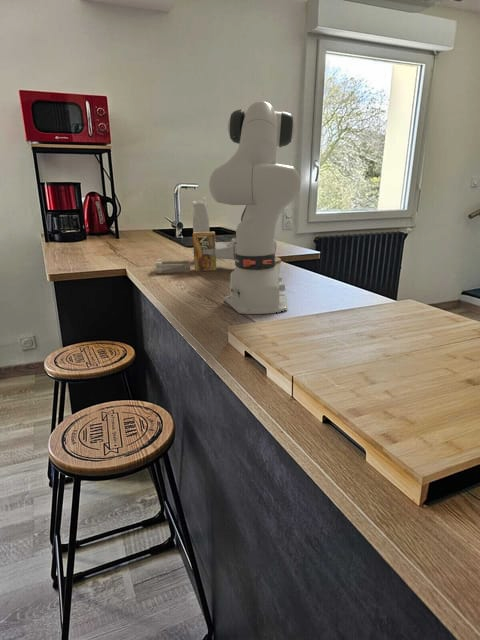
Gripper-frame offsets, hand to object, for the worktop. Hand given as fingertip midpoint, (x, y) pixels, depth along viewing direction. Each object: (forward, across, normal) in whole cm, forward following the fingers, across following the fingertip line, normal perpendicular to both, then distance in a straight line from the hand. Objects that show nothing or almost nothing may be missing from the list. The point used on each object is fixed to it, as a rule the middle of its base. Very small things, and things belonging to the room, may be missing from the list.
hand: (202, 250), depth 171 cm
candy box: (-1, 0, +8) cm, 8 cm away
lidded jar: (-22, +23, +8) cm, 33 cm away
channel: (+12, 0, +8) cm, 15 cm away
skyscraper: (-1, -21, +8) cm, 23 cm away
